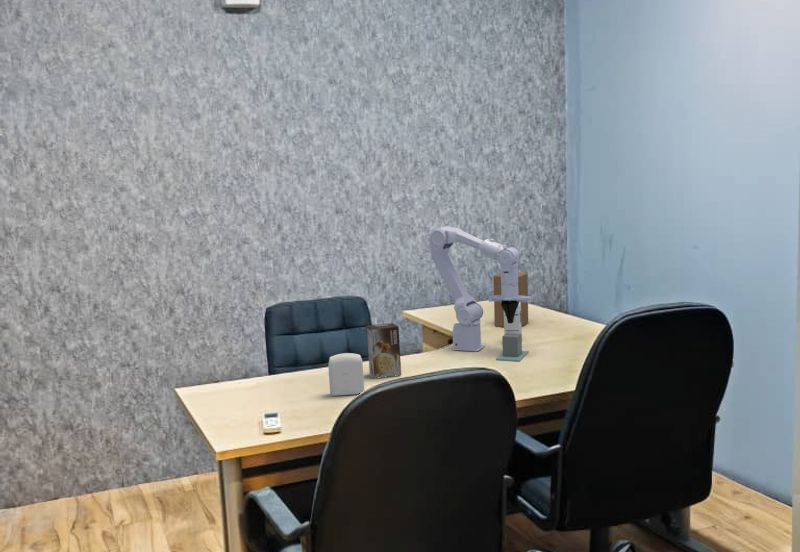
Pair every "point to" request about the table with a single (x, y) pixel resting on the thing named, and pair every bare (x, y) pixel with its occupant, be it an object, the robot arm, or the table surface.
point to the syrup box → (516, 324)
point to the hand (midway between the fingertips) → (510, 322)
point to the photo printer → (346, 374)
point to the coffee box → (384, 350)
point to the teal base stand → (518, 359)
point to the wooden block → (521, 291)
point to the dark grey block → (512, 344)
